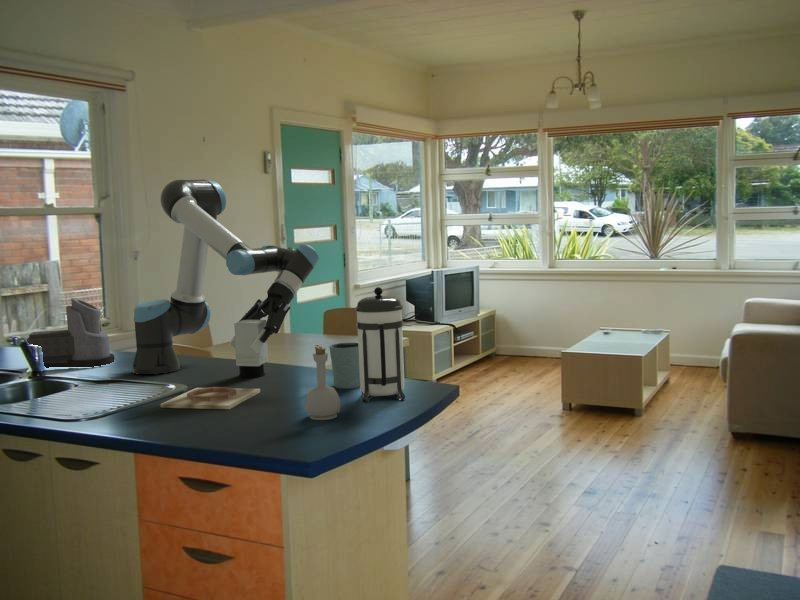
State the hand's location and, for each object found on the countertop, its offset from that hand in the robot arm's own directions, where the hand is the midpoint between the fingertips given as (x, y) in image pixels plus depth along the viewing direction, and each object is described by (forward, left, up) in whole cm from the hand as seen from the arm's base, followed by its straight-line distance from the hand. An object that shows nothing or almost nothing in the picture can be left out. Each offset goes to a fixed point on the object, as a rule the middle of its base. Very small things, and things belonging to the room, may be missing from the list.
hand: (242, 348), depth 231 cm
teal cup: (+28, +10, -13) cm, 32 cm away
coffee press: (+43, -5, -13) cm, 45 cm away
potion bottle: (+33, -26, -13) cm, 44 cm away
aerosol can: (-8, +22, -13) cm, 26 cm away
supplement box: (+1, +3, -5) cm, 6 cm away
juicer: (-82, +34, -13) cm, 89 cm away
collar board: (-5, -11, -12) cm, 17 cm away
